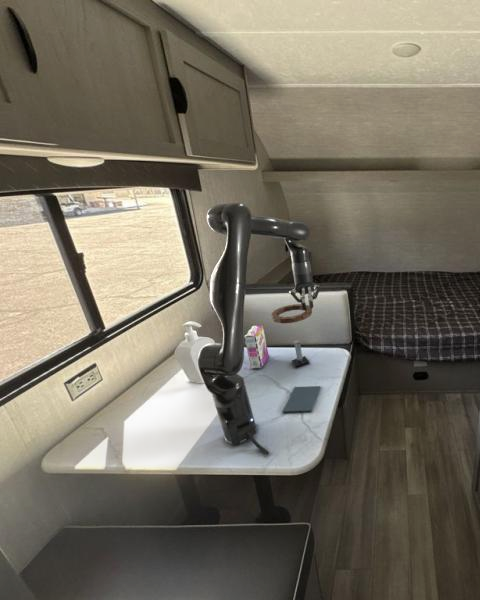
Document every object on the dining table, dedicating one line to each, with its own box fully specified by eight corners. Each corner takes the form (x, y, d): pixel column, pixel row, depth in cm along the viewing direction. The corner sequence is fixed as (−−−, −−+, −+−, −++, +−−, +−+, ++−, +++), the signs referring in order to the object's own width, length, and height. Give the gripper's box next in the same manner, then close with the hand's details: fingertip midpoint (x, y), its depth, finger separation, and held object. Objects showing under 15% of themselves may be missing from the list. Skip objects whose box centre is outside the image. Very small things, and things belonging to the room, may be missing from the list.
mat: (311, 412, 111) (310, 410, 111) (283, 413, 111) (282, 411, 111) (320, 387, 124) (320, 386, 124) (295, 388, 124) (295, 386, 124)
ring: (316, 316, 130) (316, 312, 130) (277, 326, 122) (276, 322, 122) (305, 305, 143) (304, 301, 142) (268, 314, 135) (267, 310, 134)
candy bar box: (262, 368, 138) (255, 335, 132) (251, 369, 138) (243, 336, 132) (269, 355, 149) (263, 324, 143) (258, 356, 148) (251, 325, 142)
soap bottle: (204, 386, 127) (186, 330, 118) (184, 384, 129) (165, 328, 120) (226, 369, 138) (211, 317, 129) (207, 367, 140) (191, 315, 131)
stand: (309, 363, 141) (305, 342, 136) (296, 368, 138) (291, 346, 133) (305, 358, 145) (301, 337, 141) (292, 362, 142) (288, 340, 138)
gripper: (287, 276, 123) (294, 316, 130) (321, 270, 130) (326, 308, 136) (283, 272, 129) (289, 310, 135) (315, 266, 136) (320, 303, 142)
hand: (308, 309), depth 136 cm, fingers closed on ring, 2 cm apart
